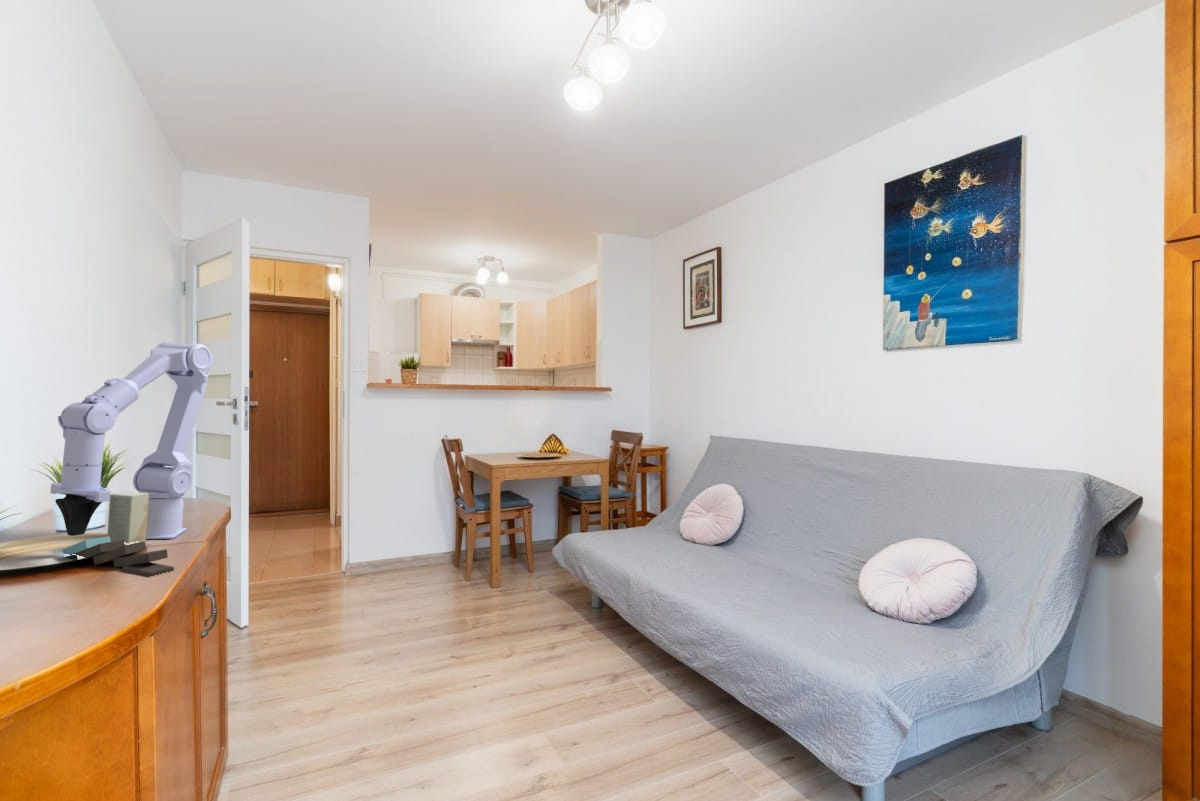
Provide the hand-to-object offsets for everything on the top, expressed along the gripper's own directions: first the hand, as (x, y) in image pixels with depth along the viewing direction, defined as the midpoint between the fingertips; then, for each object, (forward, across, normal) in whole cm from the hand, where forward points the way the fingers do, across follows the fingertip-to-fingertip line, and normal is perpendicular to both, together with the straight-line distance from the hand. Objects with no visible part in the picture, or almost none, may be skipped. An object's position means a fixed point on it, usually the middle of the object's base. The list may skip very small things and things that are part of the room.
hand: (75, 534), depth 111 cm
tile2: (+3, +4, 0) cm, 6 cm away
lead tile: (+3, 0, 0) cm, 3 cm away
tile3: (+3, +9, 0) cm, 10 cm away
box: (+4, 0, +9) cm, 10 cm away
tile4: (+3, +13, +1) cm, 14 cm away
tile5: (+4, +17, 0) cm, 17 cm away
